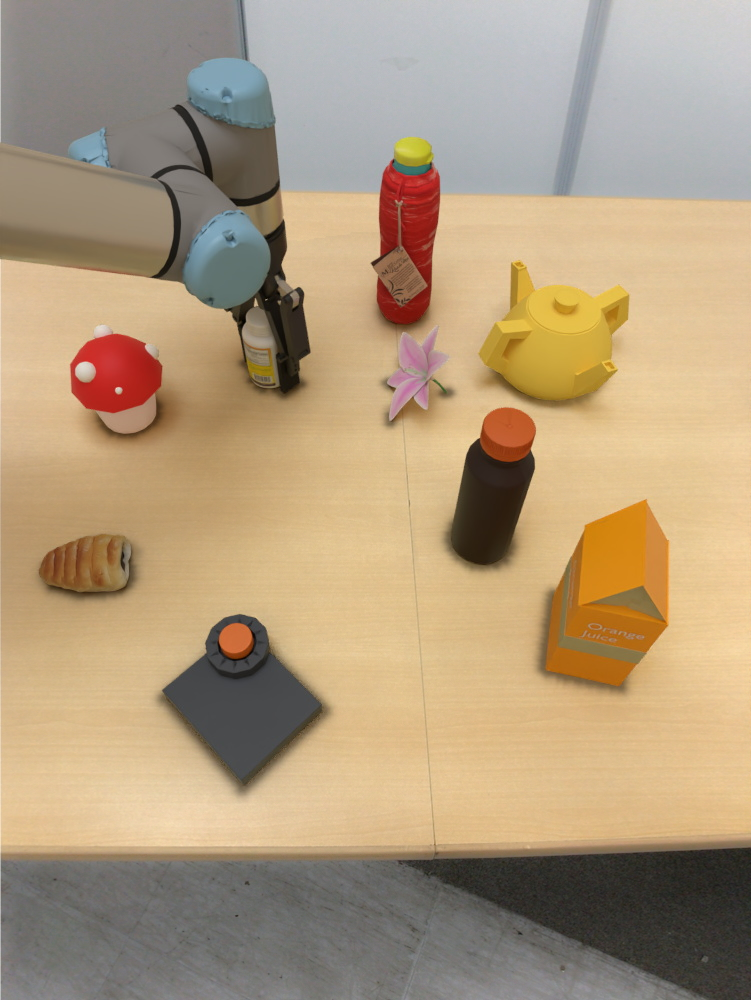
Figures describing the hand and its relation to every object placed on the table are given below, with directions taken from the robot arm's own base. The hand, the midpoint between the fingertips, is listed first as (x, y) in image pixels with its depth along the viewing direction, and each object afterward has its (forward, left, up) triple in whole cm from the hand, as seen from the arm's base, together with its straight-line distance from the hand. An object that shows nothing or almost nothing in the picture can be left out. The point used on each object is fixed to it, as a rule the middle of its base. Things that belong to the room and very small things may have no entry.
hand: (272, 372), depth 98 cm
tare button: (+28, -28, +3) cm, 40 cm away
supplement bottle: (0, 0, 0) cm, 1 cm away
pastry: (+9, -33, 0) cm, 35 cm away
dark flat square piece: (+32, -31, 0) cm, 45 cm away
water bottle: (+4, +20, 0) cm, 21 cm away
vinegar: (+36, 0, 0) cm, 36 cm away
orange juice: (+52, -2, 0) cm, 52 cm away
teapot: (+25, +28, 0) cm, 37 cm away
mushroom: (-7, -17, 0) cm, 19 cm away
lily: (+16, +11, 0) cm, 19 cm away
